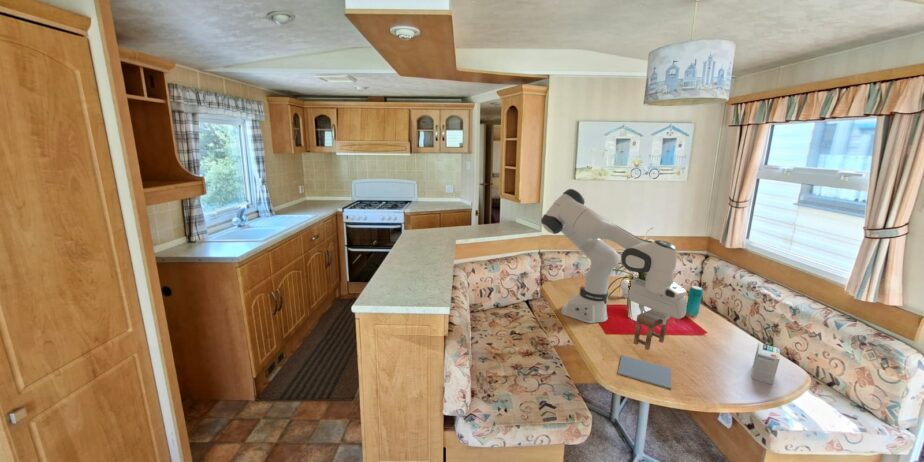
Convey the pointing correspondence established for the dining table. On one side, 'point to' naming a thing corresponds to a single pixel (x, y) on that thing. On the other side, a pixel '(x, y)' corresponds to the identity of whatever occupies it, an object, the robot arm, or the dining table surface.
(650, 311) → the stool
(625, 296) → the lightbulb
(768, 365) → the light bulb box
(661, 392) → the dining table surface
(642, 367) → the mat
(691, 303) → the beverage can
